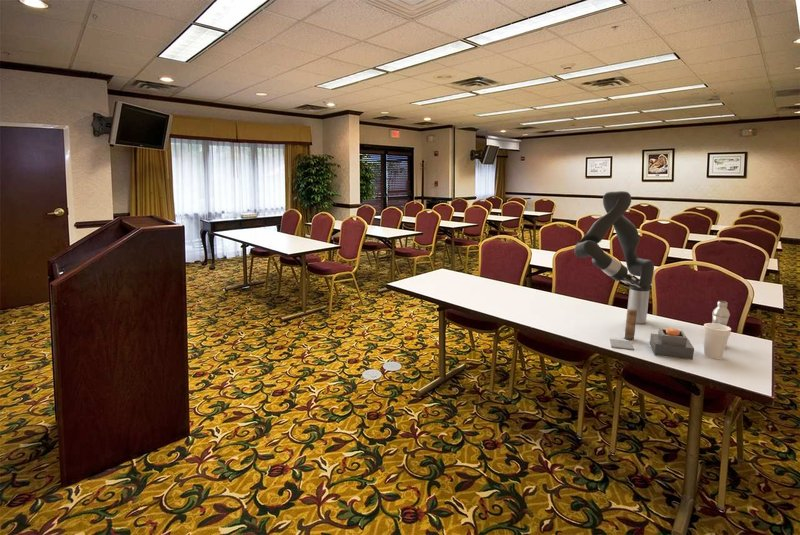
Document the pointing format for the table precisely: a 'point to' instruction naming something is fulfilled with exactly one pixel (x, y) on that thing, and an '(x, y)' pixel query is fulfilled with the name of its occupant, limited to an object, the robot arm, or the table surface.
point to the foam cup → (715, 339)
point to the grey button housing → (671, 345)
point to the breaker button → (672, 332)
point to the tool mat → (621, 344)
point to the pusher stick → (630, 324)
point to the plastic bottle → (720, 313)
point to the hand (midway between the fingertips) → (640, 287)
